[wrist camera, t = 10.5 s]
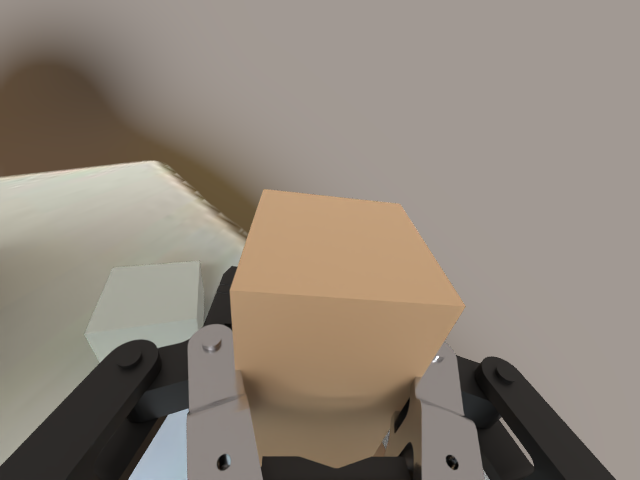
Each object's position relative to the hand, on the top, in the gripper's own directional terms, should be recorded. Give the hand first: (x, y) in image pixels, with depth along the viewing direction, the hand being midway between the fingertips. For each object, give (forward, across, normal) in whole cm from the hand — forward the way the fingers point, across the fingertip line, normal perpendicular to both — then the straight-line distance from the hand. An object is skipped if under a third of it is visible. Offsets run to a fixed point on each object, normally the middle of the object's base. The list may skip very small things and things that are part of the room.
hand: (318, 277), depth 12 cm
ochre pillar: (-3, 0, +6) cm, 7 cm away
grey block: (+8, +12, +14) cm, 21 cm away
